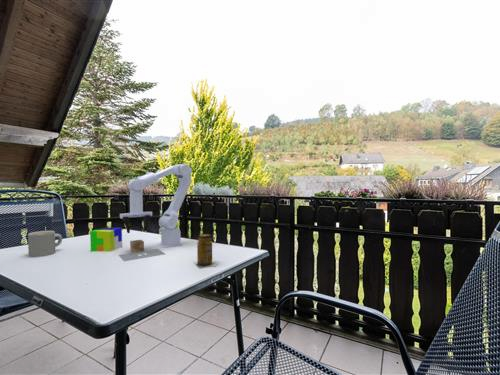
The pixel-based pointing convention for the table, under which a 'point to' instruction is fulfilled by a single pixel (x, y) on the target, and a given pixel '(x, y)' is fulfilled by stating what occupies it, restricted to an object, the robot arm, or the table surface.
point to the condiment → (204, 251)
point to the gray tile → (141, 254)
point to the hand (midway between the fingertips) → (136, 231)
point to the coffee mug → (42, 243)
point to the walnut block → (137, 246)
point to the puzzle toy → (106, 239)
